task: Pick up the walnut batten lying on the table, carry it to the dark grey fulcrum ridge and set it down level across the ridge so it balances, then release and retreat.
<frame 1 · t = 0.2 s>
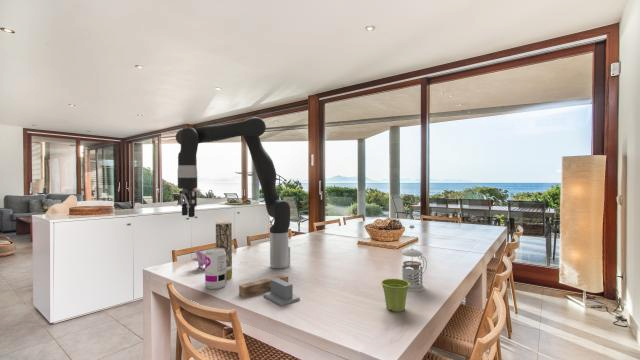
hand: (188, 216, 131), 29 cm above the table, fingers open, 8 cm apart
supplement can: (215, 286, 131), on the table
french press: (414, 287, 128), on the table
plant pot: (395, 308, 108), on the table
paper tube: (224, 278, 142), on the table
ridge: (281, 298, 117), on the table
lily: (204, 269, 157), on the table
batten: (264, 290, 127), on the table
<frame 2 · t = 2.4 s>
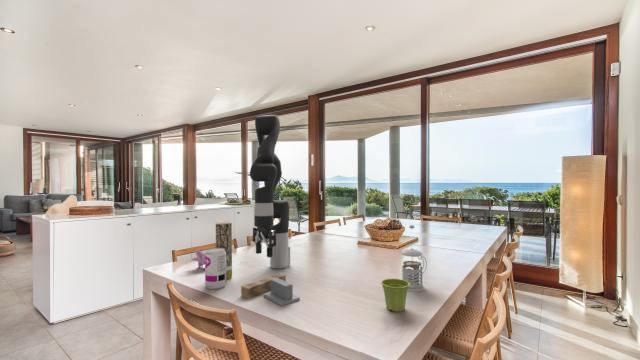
hand: (264, 255, 126), 14 cm above the table, fingers open, 8 cm apart
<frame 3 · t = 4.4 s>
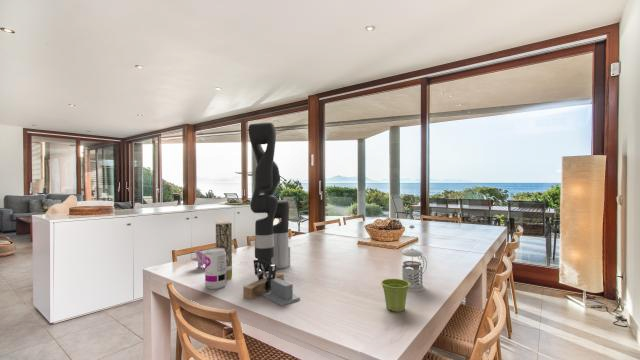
hand: (264, 288, 127), 1 cm above the table, fingers closed on batten, 5 cm apart
batten: (264, 290, 127), on the table, touching gripper
everything else where it was.
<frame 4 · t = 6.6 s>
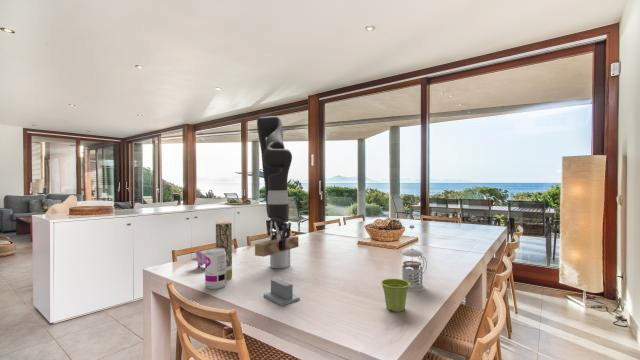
hand: (278, 248, 117), 18 cm above the table, fingers closed on batten, 5 cm apart
batten: (278, 250, 117), point 17 cm above the table, touching gripper
everything else where it was.
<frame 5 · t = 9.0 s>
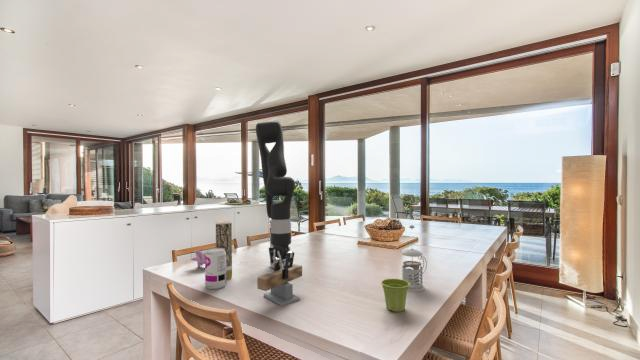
hand: (281, 277, 117), 8 cm above the table, fingers closed on batten, 4 cm apart
batten: (281, 281, 117), point 6 cm above the table, touching gripper
everything else where it was.
when the fingers open (8 cm above the table, at t = 9.3 s): batten stays where it is, resting on ridge.
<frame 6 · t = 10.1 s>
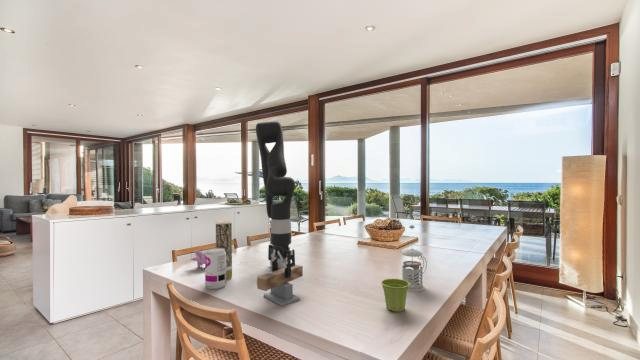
hand: (281, 275, 117), 8 cm above the table, fingers open, 8 cm apart
batten: (281, 281, 117), point 6 cm above the table, touching ridge
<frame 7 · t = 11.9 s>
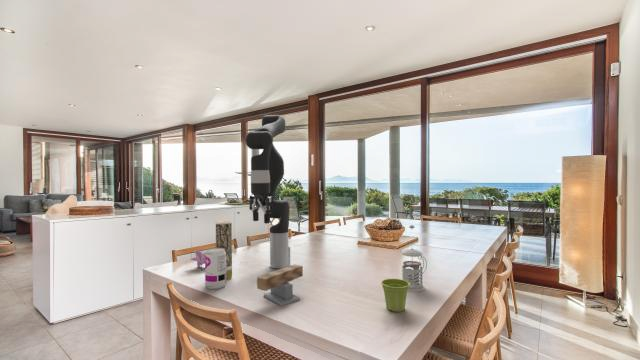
hand: (261, 222, 128), 27 cm above the table, fingers open, 8 cm apart
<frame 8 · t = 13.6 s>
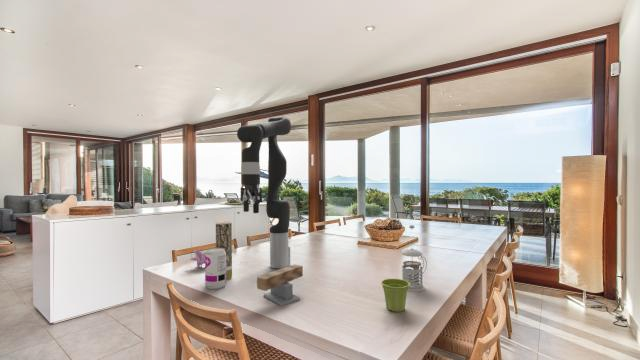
hand: (251, 212, 133), 30 cm above the table, fingers open, 8 cm apart
at the end: batten 0.0 cm off-centre on the ridge, point 6.0 cm above the ridge's base; batten tilted 0°; batten touching ridge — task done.
